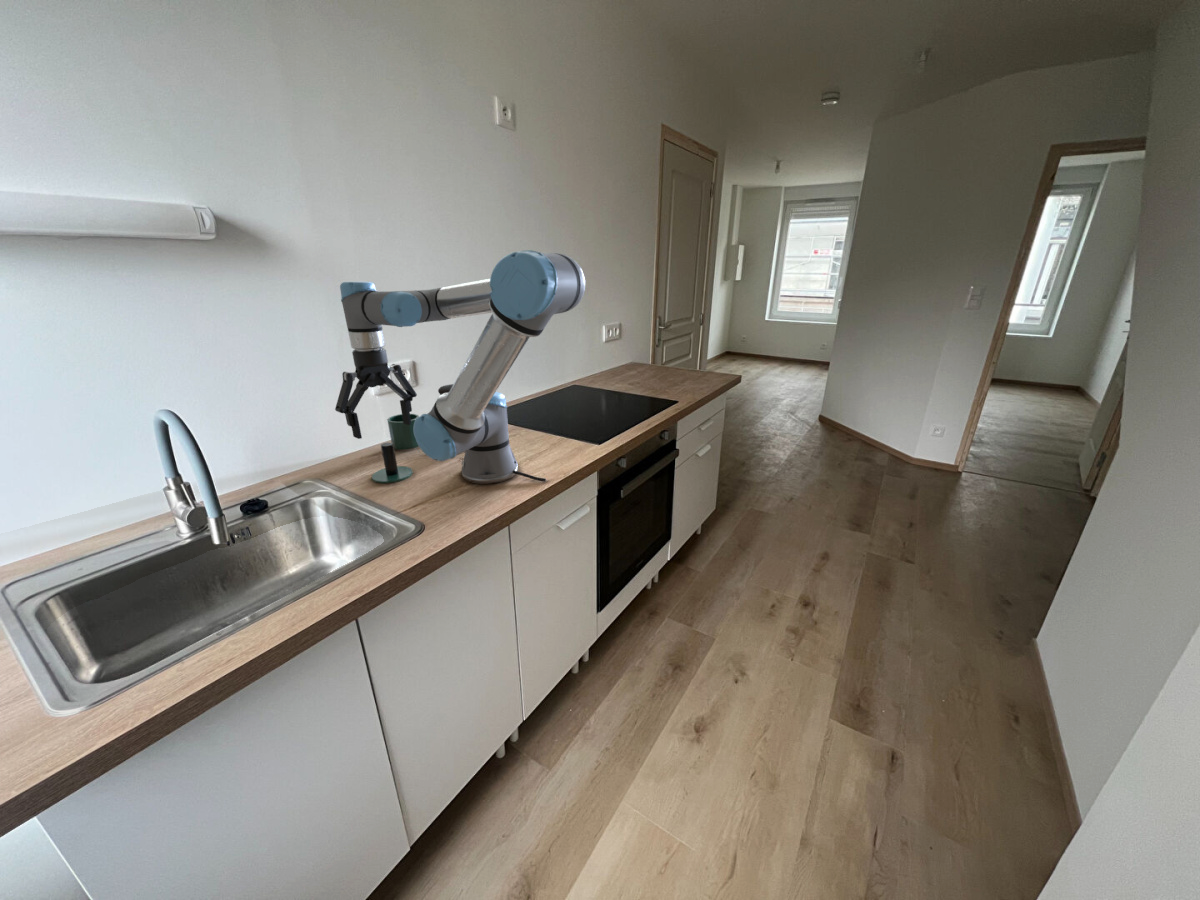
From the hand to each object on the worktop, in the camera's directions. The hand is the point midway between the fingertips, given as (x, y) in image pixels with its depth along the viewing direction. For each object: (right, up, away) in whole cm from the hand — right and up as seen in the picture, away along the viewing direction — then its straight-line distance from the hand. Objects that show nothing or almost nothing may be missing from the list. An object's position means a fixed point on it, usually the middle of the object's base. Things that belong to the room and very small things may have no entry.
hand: (383, 430), depth 118 cm
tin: (-5, -4, +27) cm, 28 cm away
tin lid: (0, -12, +5) cm, 13 cm away
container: (+12, -4, +27) cm, 30 cm away
